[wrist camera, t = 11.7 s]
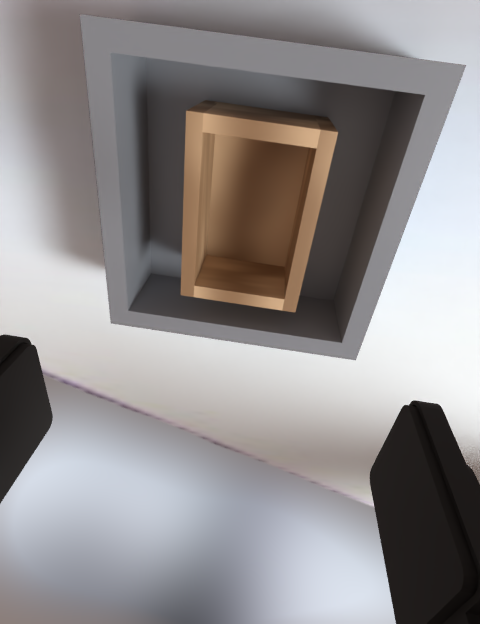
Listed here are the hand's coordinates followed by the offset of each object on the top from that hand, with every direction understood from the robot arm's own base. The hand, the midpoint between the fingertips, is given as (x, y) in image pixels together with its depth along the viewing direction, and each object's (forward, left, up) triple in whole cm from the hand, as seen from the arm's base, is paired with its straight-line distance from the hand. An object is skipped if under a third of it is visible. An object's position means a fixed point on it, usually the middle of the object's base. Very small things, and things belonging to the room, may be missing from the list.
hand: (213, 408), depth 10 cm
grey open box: (0, 0, -19) cm, 19 cm away
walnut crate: (0, 0, -18) cm, 18 cm away
